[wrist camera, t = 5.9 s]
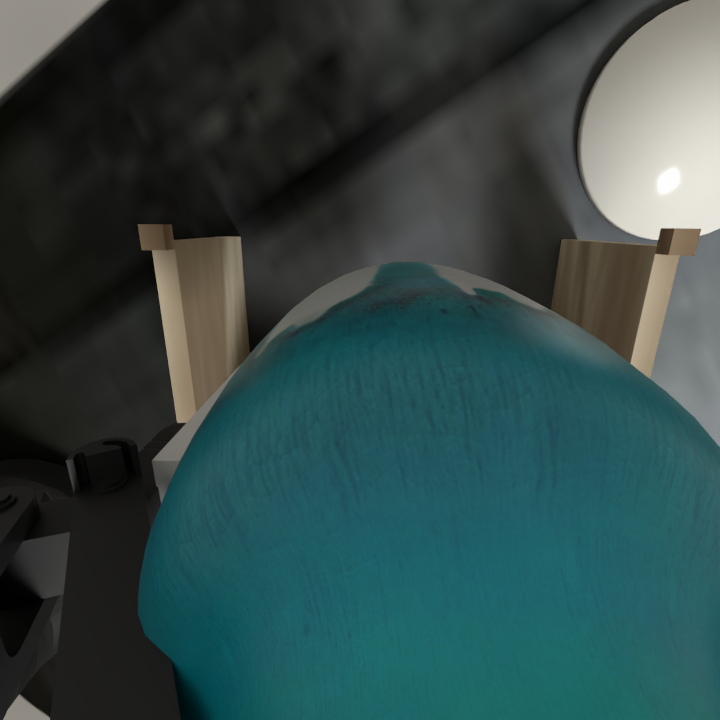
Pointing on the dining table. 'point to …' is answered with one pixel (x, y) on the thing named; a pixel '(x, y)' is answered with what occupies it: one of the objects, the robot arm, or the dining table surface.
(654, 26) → the disc
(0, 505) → the robot arm
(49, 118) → the dining table surface
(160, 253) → the light wood u-shaped piece
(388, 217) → the dining table surface
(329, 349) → the vase
